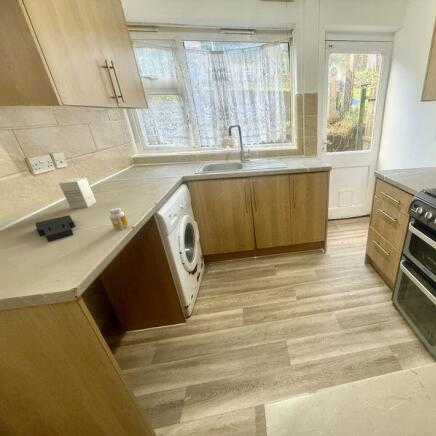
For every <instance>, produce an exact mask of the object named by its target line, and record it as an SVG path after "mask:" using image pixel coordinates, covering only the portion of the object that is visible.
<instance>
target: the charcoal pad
mask: <svg viewBox="0 0 436 436" xmlns="http://www.w3.org/2000/svg"><path fill="white" fill-rule="evenodd" d="M66 223H68V224H69V226H70V228H71V229H73V228H76V224H75V222H74V220H73V218H72V217H71V215H70V214H68V215H64V216H59V217H55V218H51V219H47V220H42V221H37V222H35V228H36V232H37V234H38V236H39V237H44V236H45V232H44V229H46V228H48V229H49V231H51V230H55V229H59V228H63V227H65V226H64V224H66Z"/></svg>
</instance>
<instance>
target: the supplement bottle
mask: <svg viewBox="0 0 436 436" xmlns="http://www.w3.org/2000/svg"><path fill="white" fill-rule="evenodd" d="M109 214H110V215H109V220H110V221H111V224H112V226H113V229H114V231H123V230H127V229H128V228H129V227H130V225H129V223H128V219H127V217H126V214H125V212H123V211H122V209H121V207H114V208H110V209H109Z"/></svg>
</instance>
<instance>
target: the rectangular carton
mask: <svg viewBox="0 0 436 436" xmlns="http://www.w3.org/2000/svg"><path fill="white" fill-rule="evenodd" d="M58 185H59V187H60V189H61V191H62V193H63V196H64V198H65V200H66V202H67V204H68V206H69V208H70V210H75V209H76V210H77V209H85V208H90V207H91V206H93V205H94V204H96V203H97V200H96V197H95V195H94V193H93V190H92V188H91V186H90V183H89V181H88V179H87V177H76V178H68V179H66V180H63V181H61V182H58Z"/></svg>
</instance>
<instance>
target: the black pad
mask: <svg viewBox="0 0 436 436" xmlns="http://www.w3.org/2000/svg"><path fill="white" fill-rule="evenodd" d="M64 226H65V227H63V228H59V229H55V230H51V231H49V229H48V228H46V229H44V232H45V235H44V236H45V238H46V241H47V242H48V243H50V242H53V241H57V240H60V239H65V238H67V237H71V236H74V233H73V230H72V228H70V226H69V224H68V223H66V224H64Z"/></svg>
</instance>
